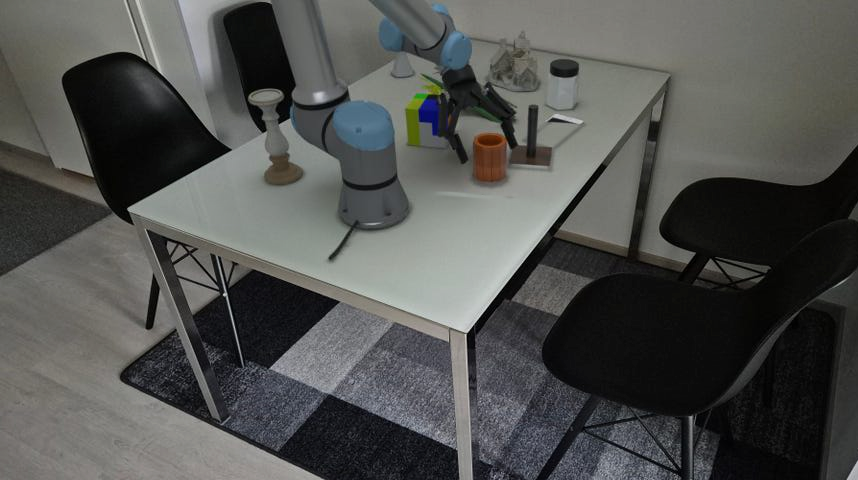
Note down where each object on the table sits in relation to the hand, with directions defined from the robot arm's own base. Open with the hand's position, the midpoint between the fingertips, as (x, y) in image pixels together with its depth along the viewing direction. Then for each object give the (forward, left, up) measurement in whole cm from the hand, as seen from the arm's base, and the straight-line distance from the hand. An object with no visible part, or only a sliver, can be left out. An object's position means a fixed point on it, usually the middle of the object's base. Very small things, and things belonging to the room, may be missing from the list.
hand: (490, 154), depth 145 cm
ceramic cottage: (+62, +1, -7) cm, 62 cm away
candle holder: (-5, +49, -7) cm, 50 cm away
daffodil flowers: (+39, +11, -7) cm, 41 cm away
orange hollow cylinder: (+1, 0, -7) cm, 7 cm away
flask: (+64, +37, -7) cm, 74 cm away
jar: (+47, -15, -7) cm, 50 cm away
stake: (+12, -9, -7) cm, 16 cm away
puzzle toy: (+20, +18, -7) cm, 28 cm away
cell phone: (+28, -14, -7) cm, 32 cm away
